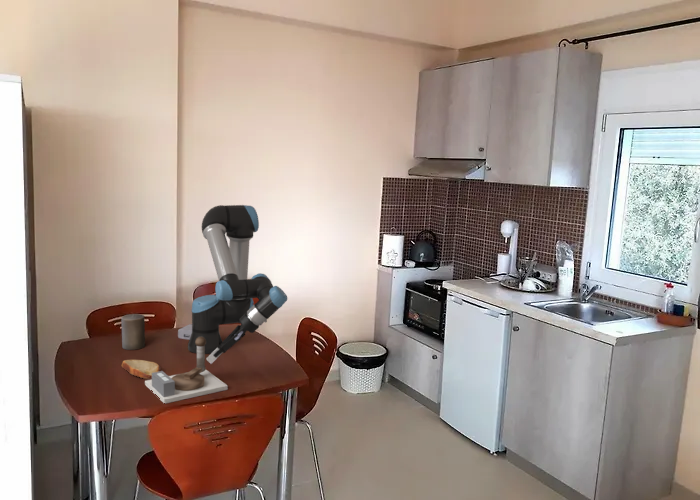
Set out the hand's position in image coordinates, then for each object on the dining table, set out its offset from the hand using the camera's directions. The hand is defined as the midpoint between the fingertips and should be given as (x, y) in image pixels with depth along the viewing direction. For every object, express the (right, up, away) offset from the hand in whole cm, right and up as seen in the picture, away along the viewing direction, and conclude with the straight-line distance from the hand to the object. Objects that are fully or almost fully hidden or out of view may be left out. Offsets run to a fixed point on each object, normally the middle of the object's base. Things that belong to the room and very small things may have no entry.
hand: (208, 360), depth 230 cm
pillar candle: (-42, 0, +36) cm, 55 cm away
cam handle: (-5, -7, -5) cm, 10 cm away
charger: (-20, +2, +56) cm, 59 cm away
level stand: (-7, -9, -6) cm, 13 cm away
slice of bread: (-29, -6, +8) cm, 31 cm away
